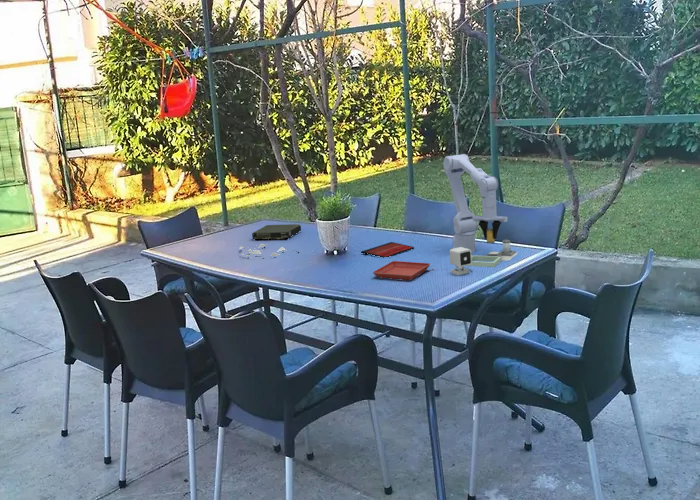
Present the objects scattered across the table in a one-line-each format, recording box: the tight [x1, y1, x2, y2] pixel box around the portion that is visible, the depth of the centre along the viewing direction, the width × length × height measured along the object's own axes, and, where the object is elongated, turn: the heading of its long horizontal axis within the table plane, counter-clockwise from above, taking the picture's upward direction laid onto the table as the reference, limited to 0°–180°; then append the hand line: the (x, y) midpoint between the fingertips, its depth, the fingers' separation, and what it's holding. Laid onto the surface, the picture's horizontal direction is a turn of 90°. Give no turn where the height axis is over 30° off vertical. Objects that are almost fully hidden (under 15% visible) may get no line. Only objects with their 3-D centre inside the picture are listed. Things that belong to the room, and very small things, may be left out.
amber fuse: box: [486, 227, 496, 244], centre depth 292 cm, size 3×3×6 cm
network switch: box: [251, 223, 302, 240], centre depth 385 cm, size 23×23×5 cm
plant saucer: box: [372, 260, 431, 281], centre depth 286 cm, size 18×18×3 cm
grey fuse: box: [501, 239, 511, 253], centre depth 298 cm, size 3×3×6 cm
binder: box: [360, 241, 415, 258], centre depth 327 cm, size 16×2×21 cm
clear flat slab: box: [238, 243, 287, 256], centre depth 348 cm, size 35×24×3 cm
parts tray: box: [467, 254, 503, 268], centre depth 288 cm, size 13×10×3 cm
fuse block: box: [485, 249, 519, 262], centre depth 297 cm, size 12×13×2 cm
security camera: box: [449, 247, 473, 276], centre depth 279 cm, size 6×7×10 cm
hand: (490, 238), depth 292 cm, fingers closed on amber fuse, 3 cm apart
